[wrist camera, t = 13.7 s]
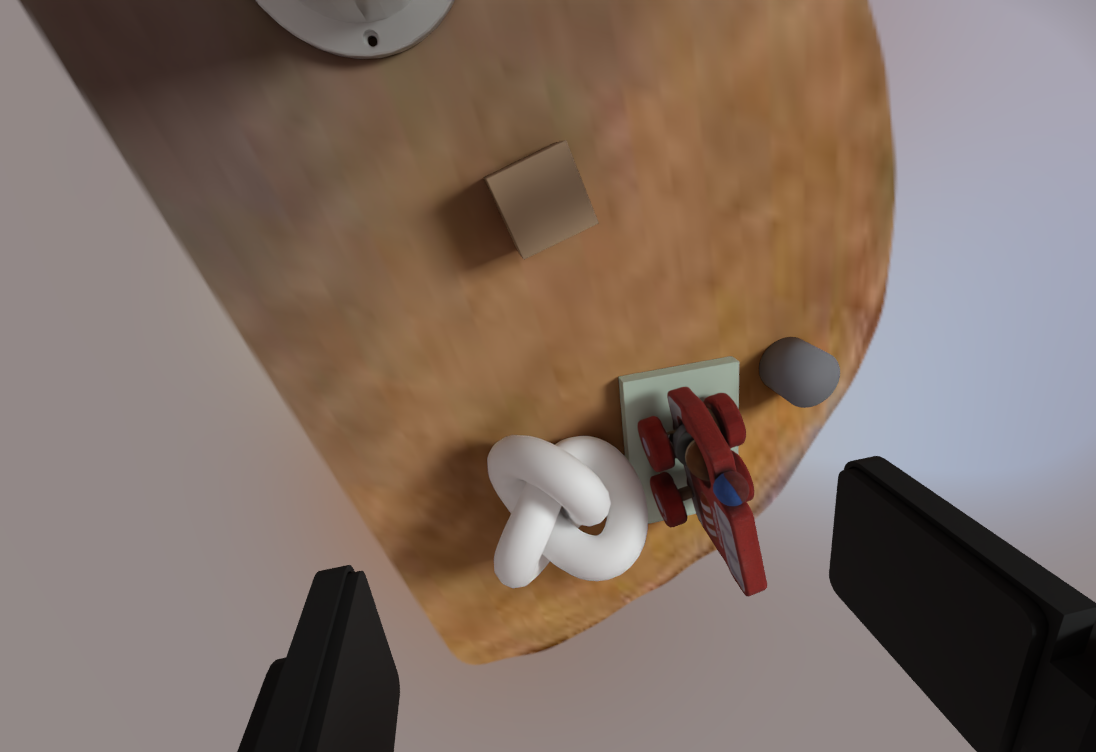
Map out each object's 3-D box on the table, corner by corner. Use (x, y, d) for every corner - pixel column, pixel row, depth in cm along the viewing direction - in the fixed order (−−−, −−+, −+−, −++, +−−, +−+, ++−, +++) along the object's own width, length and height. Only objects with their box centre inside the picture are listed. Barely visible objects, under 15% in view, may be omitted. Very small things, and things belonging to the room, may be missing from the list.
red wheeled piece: (713, 361, 40) (795, 423, 30) (736, 494, 45) (812, 584, 35) (625, 391, 40) (679, 463, 30) (657, 521, 44) (713, 619, 35)
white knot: (439, 453, 40) (434, 527, 32) (576, 371, 40) (607, 425, 31) (516, 551, 45) (529, 638, 37) (641, 478, 44) (683, 551, 36)
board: (618, 376, 40) (622, 382, 39) (731, 356, 41) (739, 361, 40) (630, 517, 45) (634, 526, 44) (731, 496, 46) (737, 504, 45)
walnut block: (483, 177, 34) (486, 178, 30) (554, 142, 34) (566, 139, 30) (516, 250, 36) (523, 259, 32) (584, 217, 36) (598, 223, 32)
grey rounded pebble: (760, 340, 41) (786, 355, 38) (814, 333, 42) (843, 348, 39) (756, 392, 43) (780, 411, 40) (807, 385, 43) (835, 403, 40)
